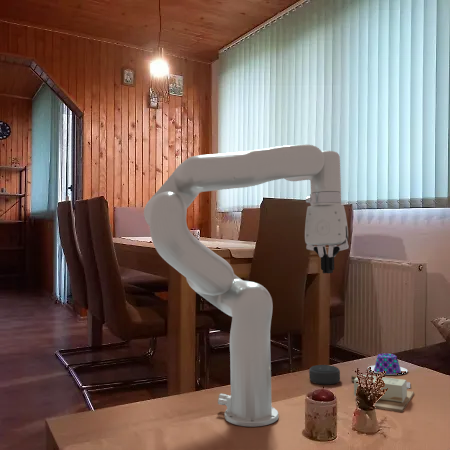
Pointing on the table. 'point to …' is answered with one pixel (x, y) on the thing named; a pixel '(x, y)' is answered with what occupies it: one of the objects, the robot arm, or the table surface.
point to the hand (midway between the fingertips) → (327, 272)
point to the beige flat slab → (394, 403)
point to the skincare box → (390, 389)
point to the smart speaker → (324, 374)
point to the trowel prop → (356, 376)
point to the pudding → (387, 364)
